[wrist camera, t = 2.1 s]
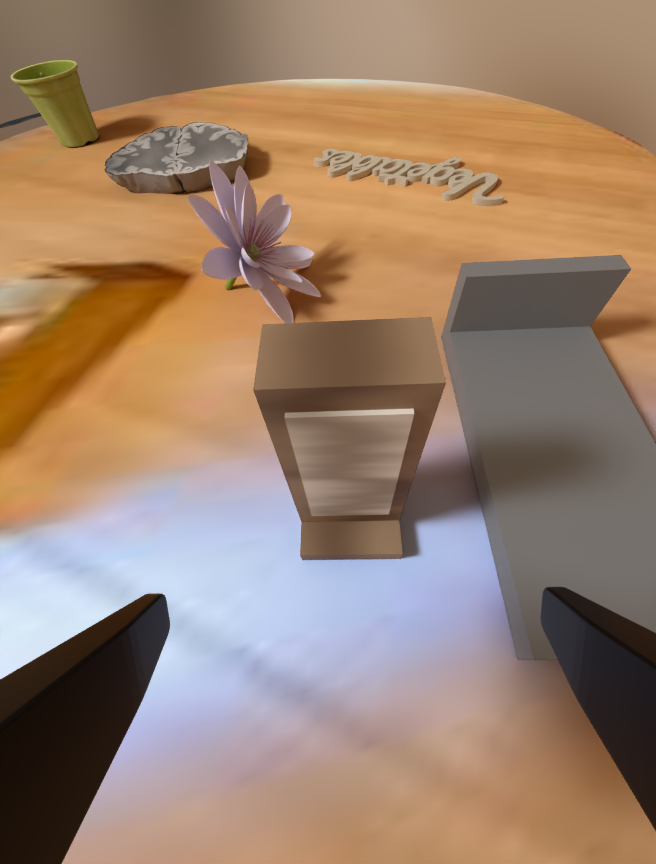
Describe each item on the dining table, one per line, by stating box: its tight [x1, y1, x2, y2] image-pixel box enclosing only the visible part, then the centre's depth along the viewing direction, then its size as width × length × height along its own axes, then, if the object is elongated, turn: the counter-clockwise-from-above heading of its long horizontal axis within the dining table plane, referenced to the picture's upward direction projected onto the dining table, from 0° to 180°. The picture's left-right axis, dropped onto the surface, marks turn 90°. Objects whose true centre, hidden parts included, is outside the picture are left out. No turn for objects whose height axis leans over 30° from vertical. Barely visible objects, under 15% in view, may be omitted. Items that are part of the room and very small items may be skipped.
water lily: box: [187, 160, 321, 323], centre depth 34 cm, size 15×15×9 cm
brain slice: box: [105, 122, 248, 194], centre depth 52 cm, size 20×17×3 cm
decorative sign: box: [314, 149, 504, 206], centre depth 48 cm, size 26×1×10 cm
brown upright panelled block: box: [253, 317, 446, 560], centre depth 18 cm, size 6×7×14 cm
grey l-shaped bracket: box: [441, 255, 656, 660], centre depth 22 cm, size 24×11×7 cm, turn 0°
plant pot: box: [11, 60, 99, 147], centre depth 57 cm, size 9×9×9 cm
